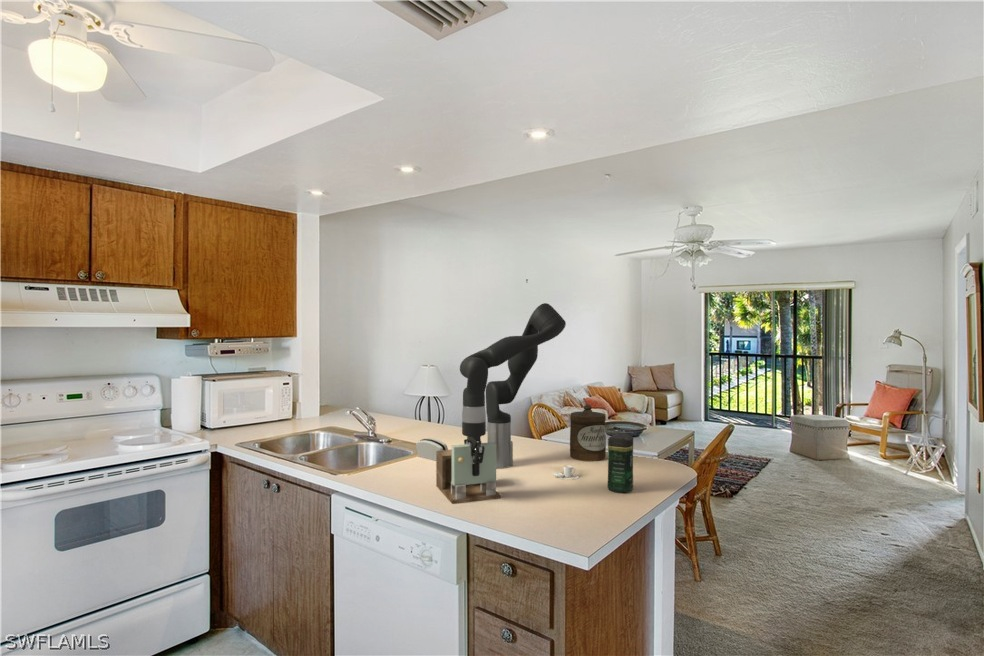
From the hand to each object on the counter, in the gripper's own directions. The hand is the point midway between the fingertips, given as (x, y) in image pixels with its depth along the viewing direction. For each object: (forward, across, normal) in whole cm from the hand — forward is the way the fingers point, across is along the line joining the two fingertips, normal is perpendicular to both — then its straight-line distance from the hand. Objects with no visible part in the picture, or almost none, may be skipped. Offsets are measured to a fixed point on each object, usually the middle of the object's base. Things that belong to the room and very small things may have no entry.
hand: (474, 473), depth 166 cm
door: (+3, 0, 0) cm, 3 cm away
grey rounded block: (+8, +52, 0) cm, 53 cm away
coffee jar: (+8, -9, -49) cm, 50 cm away
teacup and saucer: (+8, +14, -39) cm, 42 cm away
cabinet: (+7, +6, 0) cm, 10 cm away
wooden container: (+8, +34, -62) cm, 71 cm away
